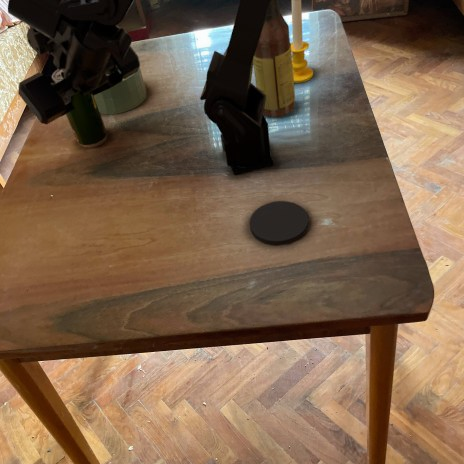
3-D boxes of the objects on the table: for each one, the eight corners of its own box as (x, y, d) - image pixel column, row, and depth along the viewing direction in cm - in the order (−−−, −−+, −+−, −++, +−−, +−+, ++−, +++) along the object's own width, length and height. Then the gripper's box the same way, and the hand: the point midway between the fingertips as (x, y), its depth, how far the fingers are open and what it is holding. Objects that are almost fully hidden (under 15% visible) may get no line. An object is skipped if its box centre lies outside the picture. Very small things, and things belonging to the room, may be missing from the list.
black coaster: (297, 199, 74) (297, 195, 73) (316, 236, 69) (316, 231, 68) (243, 213, 73) (243, 209, 73) (258, 251, 68) (258, 247, 68)
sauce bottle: (293, 97, 91) (287, -31, 75) (297, 116, 87) (292, -15, 71) (256, 102, 91) (243, -24, 76) (258, 122, 87) (245, -7, 72)
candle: (280, 81, 95) (274, -13, 83) (291, 67, 97) (287, -26, 85) (306, 84, 93) (304, -11, 81) (317, 70, 95) (317, -25, 83)
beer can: (85, 152, 88) (57, 85, 79) (73, 139, 92) (45, 73, 82) (113, 139, 90) (89, 72, 80) (100, 127, 93) (76, 60, 84)
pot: (143, 79, 102) (135, 51, 98) (150, 105, 95) (142, 76, 91) (90, 92, 102) (80, 64, 97) (94, 119, 95) (83, 91, 91)
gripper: (104, -27, 74) (88, 36, 88) (-9, 26, 67) (-7, 85, 81) (153, 41, 76) (129, 92, 90) (48, 100, 69) (40, 145, 83)
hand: (74, 102), depth 86 cm, fingers closed on beer can, 5 cm apart
